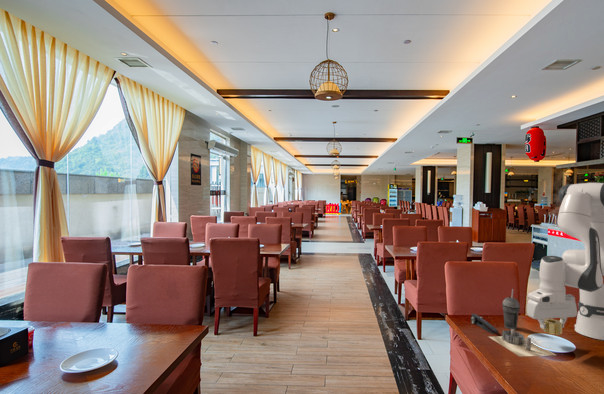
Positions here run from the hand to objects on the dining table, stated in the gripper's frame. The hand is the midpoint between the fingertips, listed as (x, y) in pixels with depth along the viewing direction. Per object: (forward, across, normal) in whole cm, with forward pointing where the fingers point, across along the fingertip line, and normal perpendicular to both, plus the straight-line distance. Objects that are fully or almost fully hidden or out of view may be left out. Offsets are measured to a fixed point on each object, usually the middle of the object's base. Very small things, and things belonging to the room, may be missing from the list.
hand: (552, 327), depth 137 cm
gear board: (+8, +14, 0) cm, 16 cm away
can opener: (+9, +17, -19) cm, 27 cm away
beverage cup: (+9, +4, -18) cm, 21 cm away
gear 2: (+2, 0, 0) cm, 2 cm away
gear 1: (+7, +14, -4) cm, 16 cm away
